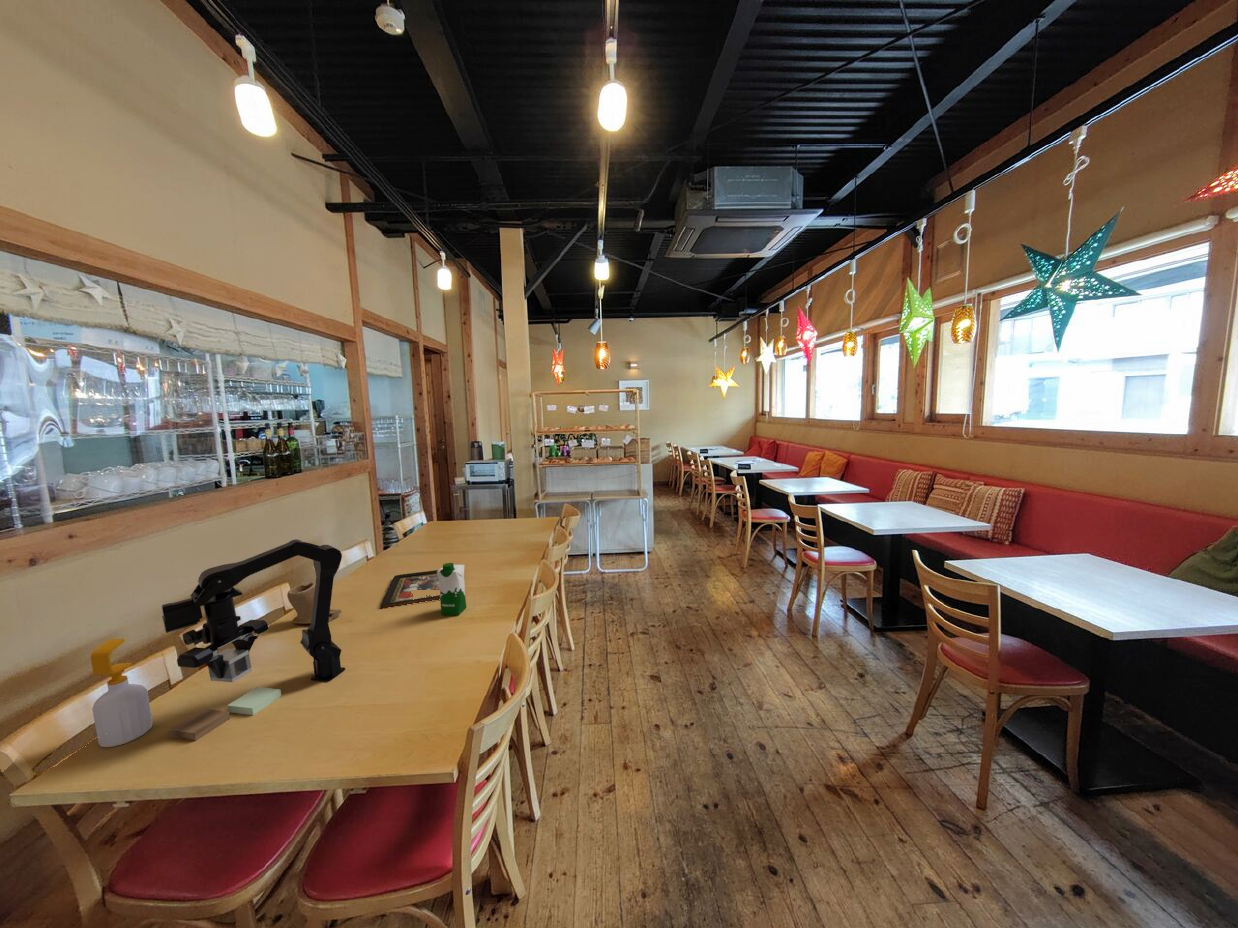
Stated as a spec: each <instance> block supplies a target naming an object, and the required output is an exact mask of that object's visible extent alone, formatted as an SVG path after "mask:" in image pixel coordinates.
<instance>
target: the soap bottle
mask: <svg viewBox="0 0 1238 928" xmlns="http://www.w3.org/2000/svg"><path fill="white" fill-rule="evenodd" d="M124 642H126V639H125V638H112V639H108V640H106V641H105V642H104V643H102V644H101V645H100V646H98V647H97V648H96V649H94V650H93V652H92V653H91V655H90V663H91V666H92V667H91V668H92V673H93V675H95V676H101V675H102V676H105V675H106V676H107V677H111V679H109V680H108V681H107V684H106V685H107V691H106V692H105V693H103V694H102V695H100V696H99V697H98V698H97V699H96V700H95V702H94V704H93V705H92V708H91V709H92V715H93V716H92V717H93V719H94V725H95V731H96V737H97V742H98V745H99V746H100V747H101V748H114V747H117V746H121V745H124V744H127V743H130V742H132V741H134V740H136V739H138V738H140V737H142V736H143V735H145V734H146V733H147V732H149V730H150V729H151V728H153V727H152V726H153V718H152V712H151V711H152V710H151V705H150V697H149V693H148V689H147V688H146V686H144V685H143V684H136V683H129V679H128V676H127V675H123V673H124V672H125V670H126V669H128V668H129V667H131V666H132V665H133V664H132V662H124V663H122V662H121V663H116V664H113V665H112V661H111V654H112V653H113V652H114V651H115V650H116V649H117V648H118V647H120V646H121V645H122V644H124ZM106 733H107V734H106ZM98 737H100V738H98Z"/></svg>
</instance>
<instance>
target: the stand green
mask: <svg viewBox="0 0 1238 928" xmlns="http://www.w3.org/2000/svg"><path fill="white" fill-rule="evenodd" d="M280 697H282V691H281V689H278V688H270V687H269V688H268V687H261V686H260V687H259V686H256V687H253V689H251V690H250V691H248V692H246V693H245V694H243V695H242V696H240V697H238V698H236V699H235V700H234V701H231V702H230V703H229V704H227V711H229V714H230V713H231V714H232V713H233V714H239V715H248V716H254V715H256V714H257V713H260V711H262V710H263V709H265V708H266V707H267V706H269V705H270V704H272V703H273V702H275V701H277V700H278V699H279V698H280Z"/></svg>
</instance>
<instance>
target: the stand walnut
mask: <svg viewBox="0 0 1238 928" xmlns="http://www.w3.org/2000/svg"><path fill="white" fill-rule="evenodd" d="M230 717H231V716H230V712H229V711H228V710H227V711H226V710H220V709H214V708H213V709H211V708H202V709H201V710H199V711H198V712H197V711H196V713H194V714H192V715H191V716H189V717H188V718H186V719H184V720H183V721H181V722H179V723H178V724H175V726H173V727H171V728H169V729H168V733H169V735H168V736H169V738H174V739H179V740H180V739H181V740H187V741H195V742H196V741H197V740H200V739H201V738H202V737H204V736H206V735H208V734H209V733H210V732H212V731H213V730H214V729H216V728H218V727H219V726H221V725H223V724H224V723H226V722H227V721H228V720H230Z"/></svg>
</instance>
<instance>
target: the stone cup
mask: <svg viewBox="0 0 1238 928" xmlns="http://www.w3.org/2000/svg"><path fill="white" fill-rule="evenodd" d="M315 584H316V581H315V582H314V581H311V582H307V583H306V582H304V583H301V584H298V585H296V586H294V587H292V588H290V589H289V590H288V592H287V595H286V596H287V600H288V602H289V604H290V605H291V606H292V607H293V609H294V610H295V611H296V616H295V617H293V618H292V620H291V622H292V623H293V624H300V625H301V624H302V625H303V624H311V618H312V610H313V601H314V592H315ZM342 612H343V610H342V609H331V608H330V614H329V622H331V621H332V620H334V619H335V618H338V616H340V614H341V613H342Z"/></svg>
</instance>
